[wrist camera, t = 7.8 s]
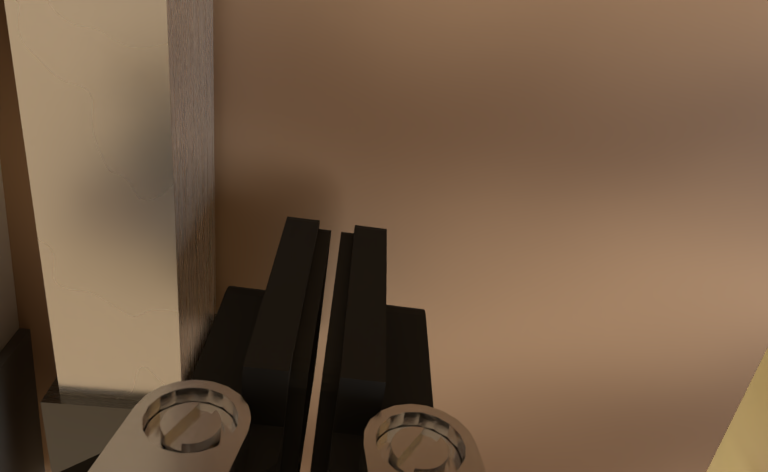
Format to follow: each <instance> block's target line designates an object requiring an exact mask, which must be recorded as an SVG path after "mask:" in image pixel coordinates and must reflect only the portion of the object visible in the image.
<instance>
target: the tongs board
mask: <svg viewBox="0 0 768 472" xmlns="http://www.w3.org/2000/svg"><path fill="white" fill-rule="evenodd" d="M213 66H214V173H215V280H216V314H217V312H218V310H219V307H220V304H221V302H222V299H223V297H224V294H225V292H226V290H227V288H228V287H229V286H236V287H245V288H253V289H261V290H266V286H267V283H268V280H269V276H270V273H271V270H272V266H273V263H274V259H275V256H276V253H277V249H278V246H279V242H280V239H281V236H282V232H283V229H284V226H285V222H286V219H287V216H289V217H296V218H304V219H312V220H320V227H319V229H324V230H331V239H330V248H329V256H328V265H327V273H326V282H325V290H324V299H323V307H322V315H321V324H320V332H319V341H318V349H317V358H316V366H315V374H314V381H313V387H312V394H311V401H310V408H309V414H308V421H307V428H306V435H305V441H304V448H303V455H302V462H301V468H300V472H310V469H311V461H312V453H313V445H314V437H315V429H316V421H317V413H318V405H319V397H320V389H321V381H322V373H323V365H324V358H325V350H326V343H327V335H328V327H329V320H330V312H331V305H332V297H333V290H334V282H335V275H336V267H337V259H338V252H339V244H340V237H341V232H348V233H354V227H355V225H359V226H367V227H375V228H383V229H387V295H386V305H394V306H402V307H410V308H419V309H424V310H425V313H426V323H427V335H428V347H429V359H430V371H431V383H432V395H433V407H434V408H436V409H438V410H441V411H444V412H446V413H447V414H449V415H451V416H452V417H454V418H456V419H457V420H459V421H460V422H461V423H462V424H463V425H464V426H465V427H466V428H467V429H468V430H469V431H470V433H471V435H472V437H473V439H474V440H475V442H476V444H477V447H478V450H479V453H480V456H481V459H482V462H483V464H484V467H485V470H486V472H706V471H707V469H708V467H709V465H710V463H711V461H712V459H713V457H714V455H715V453H716V451H717V449H718V447H719V445H720V443H721V441H722V439H723V437H724V435H725V433H726V431H727V429H728V427H729V425H730V423H731V421H732V419H733V417H734V414H735V412H736V410H737V408H738V406H739V404H740V402H741V400H742V398H743V396H744V394H745V392H746V390H747V388H748V386H749V384H750V382H751V380H752V378H753V376H754V374H755V372H756V370H757V368H758V366H759V364H760V362H761V360H762V358H763V356H764V354H765V352H766V350H767V348H768V0H213ZM56 377H57V371H56V363H55V356H54V349H53V342H52V335H51V328H50V321H49V314H48V307H47V300H46V293H45V286H44V279H43V272H42V265H41V258H40V251H39V244H38V237H37V230H36V222H35V215H34V208H33V201H32V194H31V187H30V180H29V173H28V166H27V159H26V152H25V145H24V138H23V131H22V124H21V117H20V110H19V103H18V96H17V88H16V81H15V74H14V67H13V60H12V53H11V46H10V39H9V32H8V25H7V18H6V11H5V4H4V0H0V472H51V466H50V460H49V454H48V447H47V441H46V435H45V429H44V422H43V416H42V410H41V403H40V402H41V400H42V399H43V397H44V396H45V394H46V393H47V391H48V390H49V388H50V386H51V385H52V383H53V382H54V380H55V379H56Z"/></svg>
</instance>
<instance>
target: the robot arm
mask: <svg viewBox="0 0 768 472" xmlns="http://www.w3.org/2000/svg"><path fill="white" fill-rule="evenodd" d="M319 227H320V220H312V219H304V218H296V217H289V216H287V219H286V222H285V226H284V229H283V232H282V236H281V239H280V242H279V246H278V249H277V253H276V256H275V259H274V263H273V266H272V270H271V273H270V276H269V280H268V283H267V286H266V290H261V289H253V288H245V287H236V286H229V287H228V288H227V290H226V292H225V294H224V297H223V299H222V302H221V304H220V307H219V310H218V312H217V315H216V317H215V320H214V322H213V325H212V328H211V330H210V333H209V335H208V338H207V340H206V343H205V346H204V348H203V351H202V353H201V356H200V358H199V361H198V364H197V366H196V369H195V371H194V374H193V376H192V379H191V380H187V381H177V382H174V383H171V384H167V385H164V386H161V387H159V388H157V389H155V390H154V391H152V392H150V393H148V394H147V395H145V396H144V397H143V398H142V399H141V400H140V401H139V402H138V403H137V404H136V405H135V406H134V408H133V409H132V411H131V412H130V413H129V415H128V416H127V418H126V419H125V420H124V422H123V423H122V425H121V426H120V427H119V429H118V430H117V431H116V433H115V434H114V436H113V437H112V438H111V440H110V441H109V443H108V444H107V445H106V447H105V448H104V450H103V451H102V452H101V453H100V454H98V455H96V456H93V457H91V458H89V459H87V460H85V461H82V462H80V463H78V464H76V465H74V466H71V467H69V468H67V469H65V470H63V471H61V472H300V468H301V462H302V455H303V448H304V441H305V435H306V428H307V421H308V414H309V408H310V401H311V394H312V387H313V381H314V374H315V366H316V358H317V349H318V341H319V332H320V324H321V315H322V307H323V299H324V290H325V282H326V273H327V265H328V256H329V248H330V239H331V230H324V229H319ZM386 295H387V229H383V228H375V227H367V226H359V225H355V227H354V233H348V232H341V237H340V244H339V252H338V259H337V267H336V275H335V282H334V290H333V297H332V305H331V312H330V320H329V327H328V335H327V343H326V350H325V358H324V365H323V373H322V381H321V389H320V397H319V405H318V413H317V421H316V429H315V437H314V445H313V453H312V461H311V469H310V472H486V470H485V467H484V464H483V462H482V459H481V456H480V453H479V450H478V447H477V444H476V442H475V440H474V439H473V437H472V435H471V433H470V431H469V430H468V429H467V428H466V427H465V426H464V425H463V424H462V423H461V422H460V421H459V420H457V419H456V418H454V417H452V416H451V415H449V414H447V413H446V412H444V411H441V410H438V409H436V408H434V407H433V395H432V383H431V371H430V359H429V347H428V335H427V323H426V313H425V310H424V309H419V308H410V307H402V306H394V305H386Z"/></svg>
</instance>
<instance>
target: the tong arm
mask: <svg viewBox="0 0 768 472" xmlns="http://www.w3.org/2000/svg"><path fill="white" fill-rule="evenodd" d="M4 4H5V11H6V18H7V25H8V32H9V39H10V46H11V53H12V60H13V67H14V74H15V81H16V88H17V96H18V103H19V110H20V117H21V124H22V131H23V138H24V145H25V152H26V159H27V166H28V173H29V180H30V187H31V194H32V201H33V208H34V215H35V222H36V230H37V237H38V244H39V251H40V258H41V265H42V272H43V279H44V286H45V293H46V300H47V307H48V314H49V321H50V328H51V335H52V342H53V349H54V356H55V363H56V371H57V377H56V379H55V380H54V382H53V383H52V385H51V386H50V388H49V390H48V391H47V393H46V394H45V396H44V397H43V399H42V400H41V402H40V403H41V410H42V416H43V422H44V429H45V435H46V441H47V447H48V454H49V460H50V466H51V472H61V471H63V470H65V469H67V468H69V467H71V466H74V465H76V464H78V463H80V462H82V461H85V460H87V459H89V458H91V457H93V456H96V455H98V454H100V453H101V452H102V451H103V450H104V448H105V447H106V445H107V444H108V443H109V441H110V440H111V438H112V437H113V436H114V434H115V433H116V431H117V430H118V429H119V427H120V426H121V425H122V423H123V422H124V420H125V419H126V418H127V416H128V415H129V413H130V412H131V411H132V409H133V408H134V406H135V405H136V404H137V403H138V402H139V401H140V400H141V399H142V398H143V397H144V396H145V395H147V394H148V393H150V392H152V391H154V390H155V389H157V388H159V387H161V386H164V385H167V384H171V383H174V382H177V381H187V380H191V379H192V376H193V374H194V371H195V369H196V366H197V364H198V361H199V358H200V356H201V353H202V351H203V348H204V346H205V343H206V340H207V338H208V335H209V333H210V330H211V328H212V325H213V322H214V320H215V317H216V315H217V314H216V280H215V173H214V66H213V0H4Z"/></svg>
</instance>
